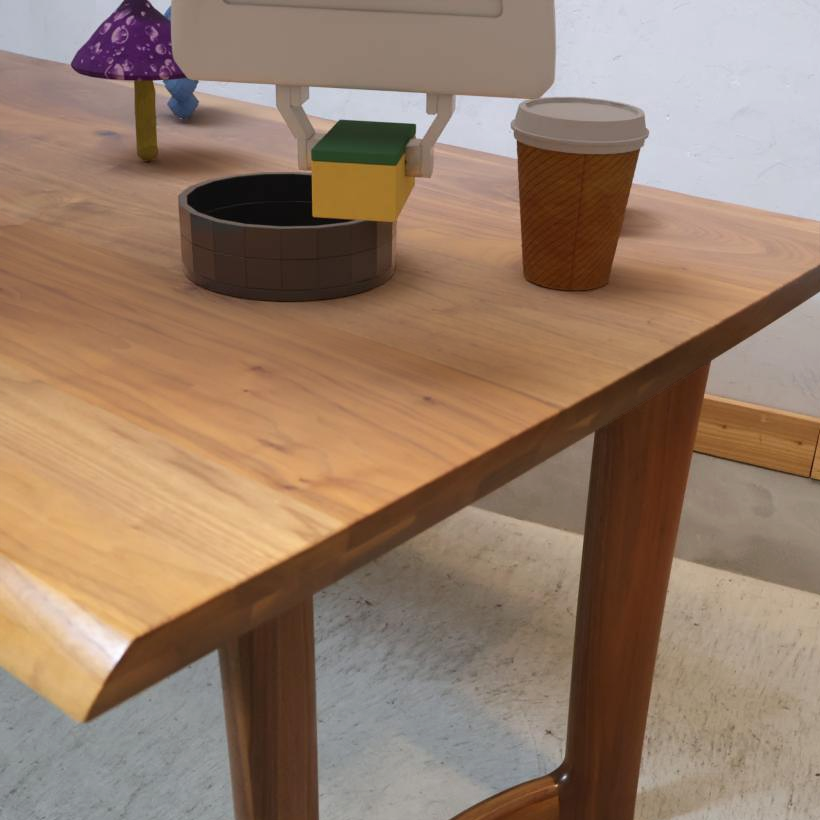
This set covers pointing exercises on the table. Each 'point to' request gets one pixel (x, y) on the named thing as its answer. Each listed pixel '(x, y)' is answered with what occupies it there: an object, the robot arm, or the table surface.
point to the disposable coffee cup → (574, 186)
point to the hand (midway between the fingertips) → (365, 172)
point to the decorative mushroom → (133, 61)
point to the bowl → (278, 241)
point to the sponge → (361, 171)
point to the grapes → (181, 92)
